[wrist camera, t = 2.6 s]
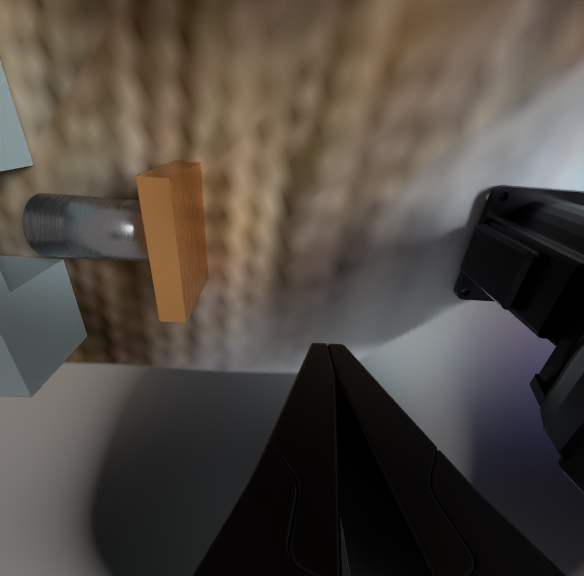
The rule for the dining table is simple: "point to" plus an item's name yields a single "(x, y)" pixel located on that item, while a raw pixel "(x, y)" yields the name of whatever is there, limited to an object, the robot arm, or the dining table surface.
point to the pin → (134, 232)
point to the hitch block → (31, 291)
